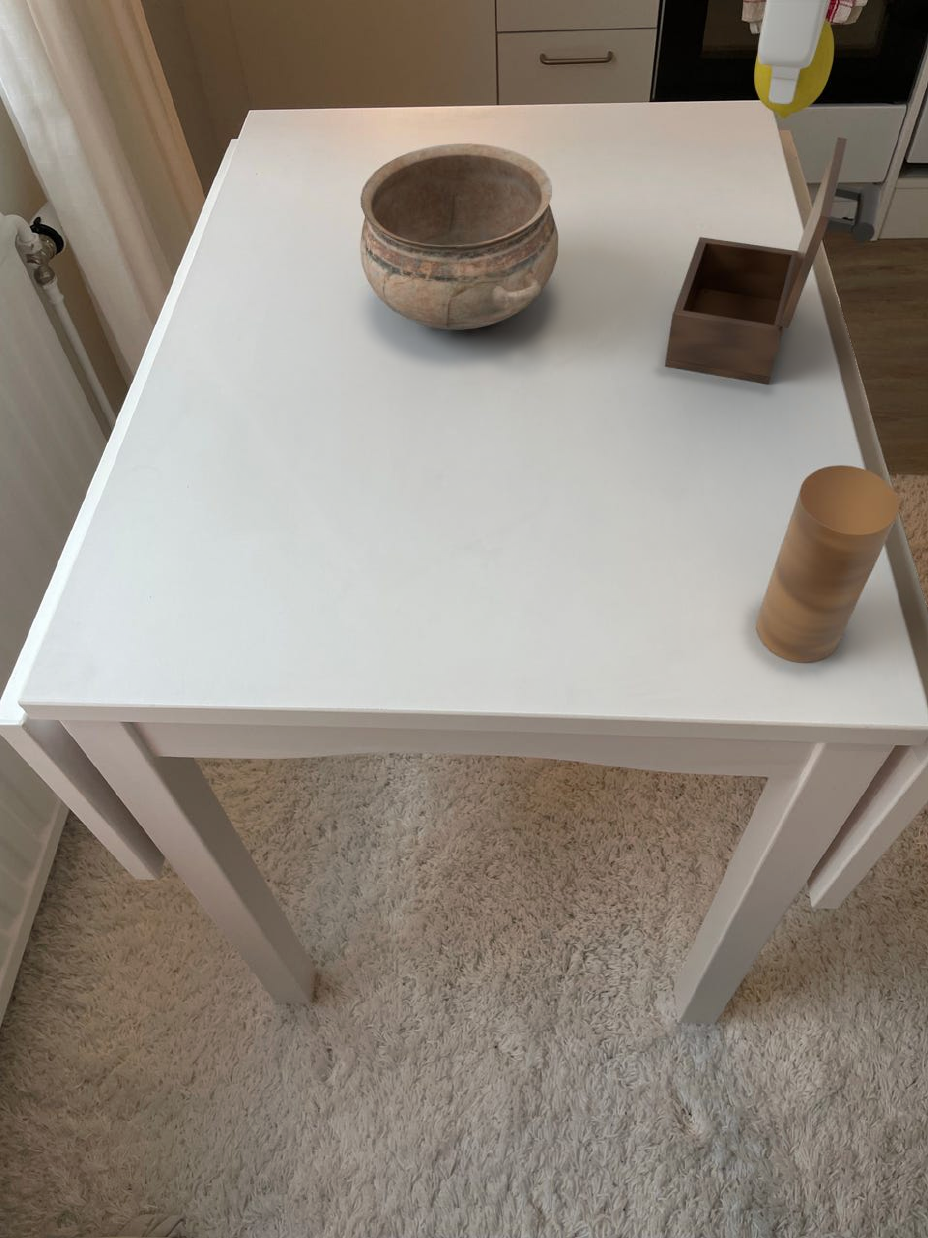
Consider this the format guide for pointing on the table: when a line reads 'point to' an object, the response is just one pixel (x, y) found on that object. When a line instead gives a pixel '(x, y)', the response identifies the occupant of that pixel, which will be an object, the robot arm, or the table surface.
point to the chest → (731, 310)
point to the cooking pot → (458, 234)
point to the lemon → (800, 77)
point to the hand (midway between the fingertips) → (787, 77)
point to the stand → (825, 561)
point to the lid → (830, 224)
